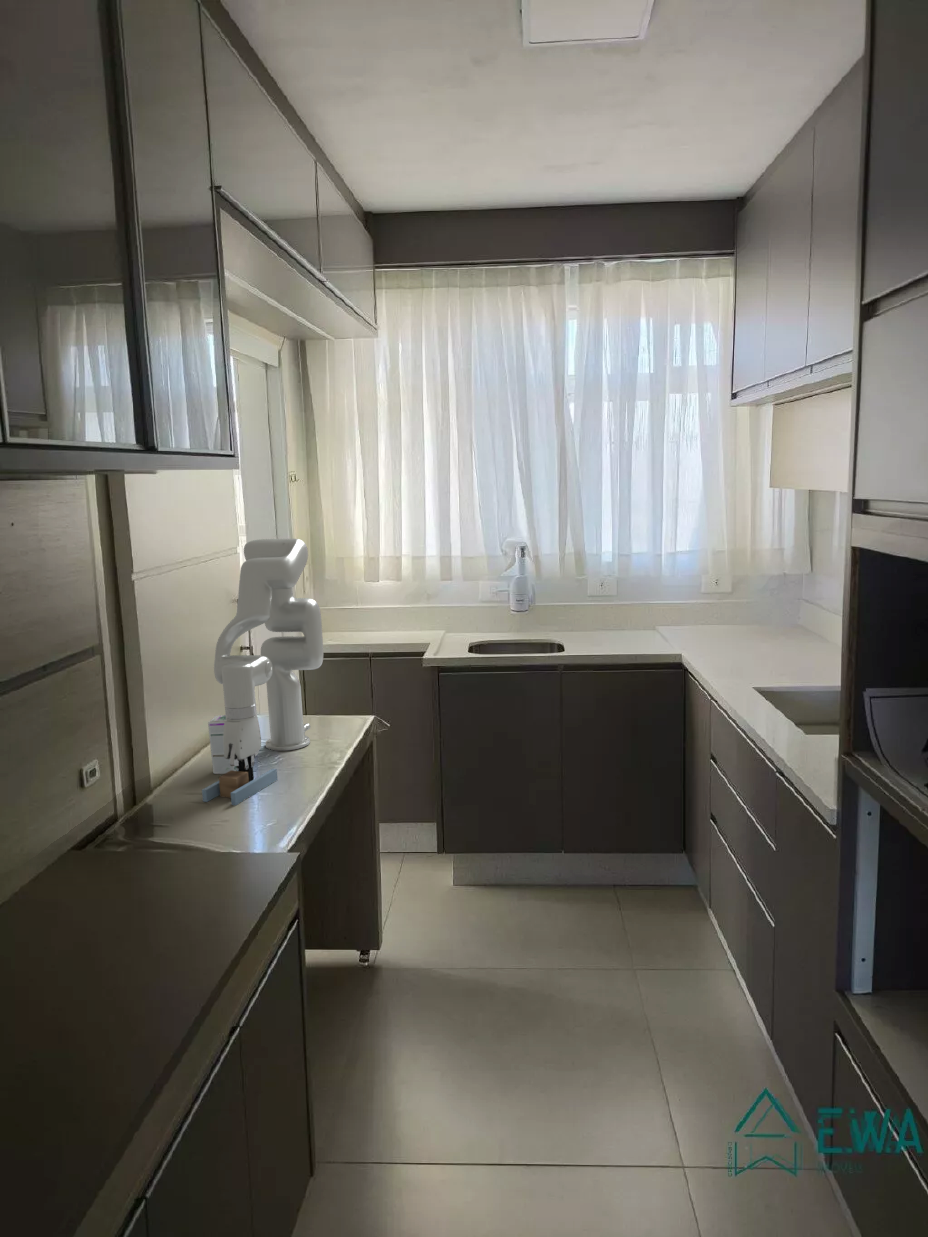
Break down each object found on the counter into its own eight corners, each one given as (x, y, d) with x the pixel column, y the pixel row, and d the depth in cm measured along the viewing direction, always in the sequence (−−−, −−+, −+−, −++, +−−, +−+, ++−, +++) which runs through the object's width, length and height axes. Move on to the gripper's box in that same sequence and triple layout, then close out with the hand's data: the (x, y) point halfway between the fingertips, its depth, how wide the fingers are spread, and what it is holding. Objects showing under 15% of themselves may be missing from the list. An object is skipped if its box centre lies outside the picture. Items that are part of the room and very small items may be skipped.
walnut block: (232, 789, 223) (231, 770, 222) (249, 791, 222) (248, 772, 221) (220, 796, 219) (218, 777, 218) (237, 798, 217) (236, 778, 216)
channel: (246, 776, 232) (245, 765, 232) (277, 780, 229) (276, 768, 229) (202, 801, 216) (201, 789, 215) (235, 805, 212) (234, 793, 212)
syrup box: (234, 773, 235) (230, 720, 233) (212, 774, 235) (207, 721, 233) (240, 766, 241) (236, 714, 238) (218, 767, 241) (214, 715, 239)
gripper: (245, 703, 230) (251, 771, 233) (209, 719, 216) (216, 791, 219) (270, 704, 227) (275, 774, 230) (236, 721, 213) (242, 794, 216)
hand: (246, 782), depth 225 cm, fingers closed
